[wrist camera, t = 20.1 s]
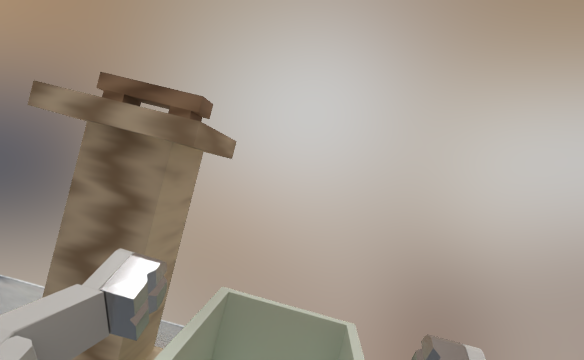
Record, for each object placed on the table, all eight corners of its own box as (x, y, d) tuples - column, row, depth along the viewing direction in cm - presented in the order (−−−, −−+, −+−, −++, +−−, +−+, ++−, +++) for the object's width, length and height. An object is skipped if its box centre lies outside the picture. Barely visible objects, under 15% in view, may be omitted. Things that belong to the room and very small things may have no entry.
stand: (-47, 396, 28) (41, 47, 28) (63, 332, 40) (125, 89, 39) (116, 449, 26) (208, 87, 26) (178, 367, 38) (242, 117, 38)
